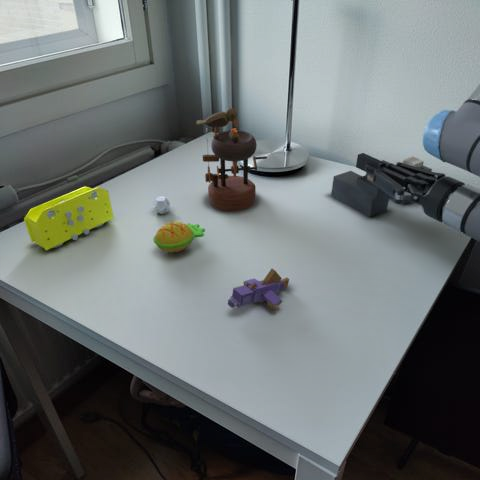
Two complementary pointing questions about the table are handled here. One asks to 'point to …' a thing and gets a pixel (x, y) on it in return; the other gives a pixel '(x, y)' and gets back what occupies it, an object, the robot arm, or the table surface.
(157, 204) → the game die
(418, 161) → the low key
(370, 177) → the high key
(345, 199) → the high key block
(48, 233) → the yellow toy chassis
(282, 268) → the table surface
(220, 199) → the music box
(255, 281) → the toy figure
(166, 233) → the toy pineapple
